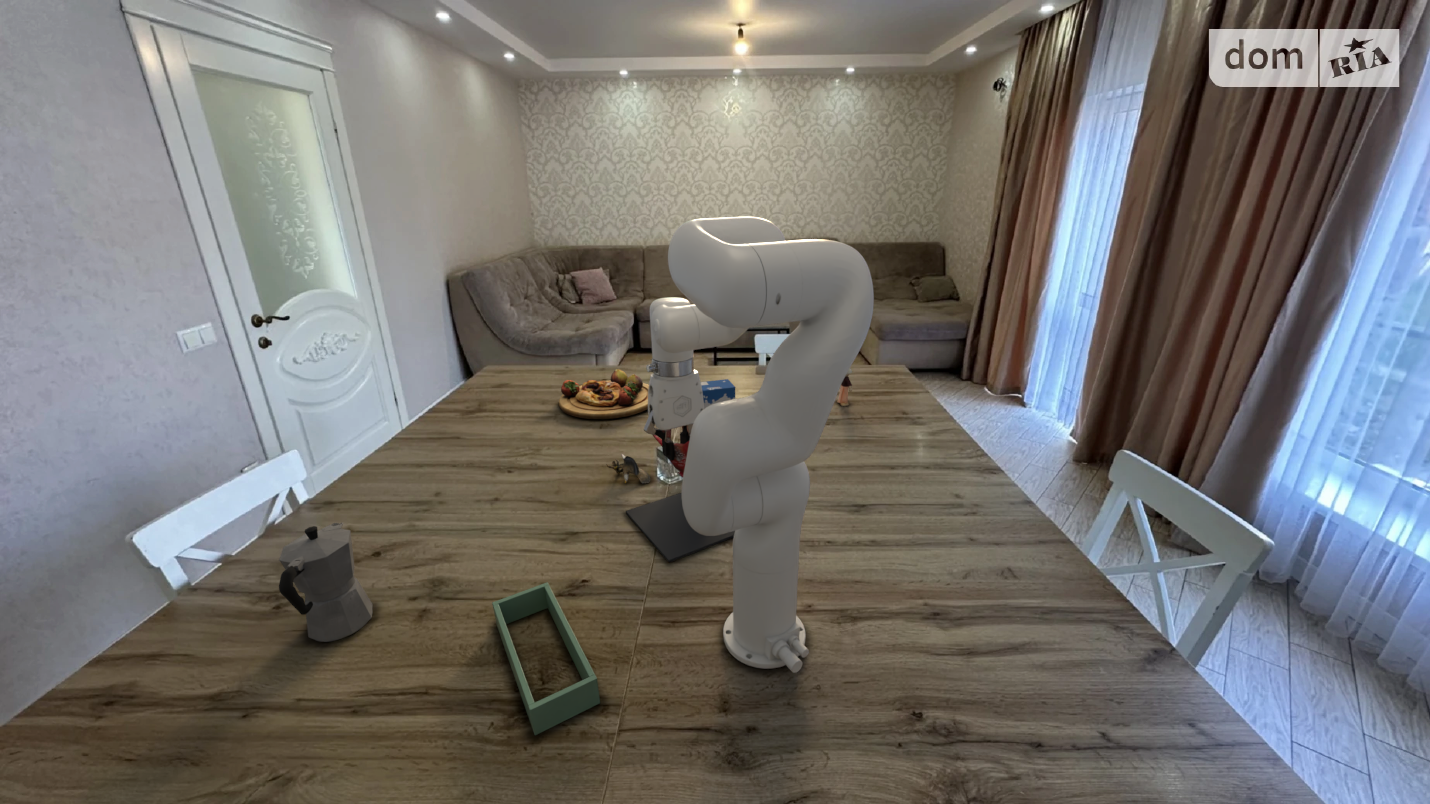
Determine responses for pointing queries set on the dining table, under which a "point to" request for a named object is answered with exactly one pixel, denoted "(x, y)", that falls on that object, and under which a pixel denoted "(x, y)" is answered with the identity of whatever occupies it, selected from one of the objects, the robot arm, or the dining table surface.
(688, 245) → the robot arm
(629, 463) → the eagle figurine
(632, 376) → the wooden plate
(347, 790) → the dining table surface
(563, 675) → the dining table surface
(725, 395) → the milk carton
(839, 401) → the grandmother figurine
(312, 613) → the coffeepot
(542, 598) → the frame
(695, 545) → the mat
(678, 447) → the decorative bird figurine
